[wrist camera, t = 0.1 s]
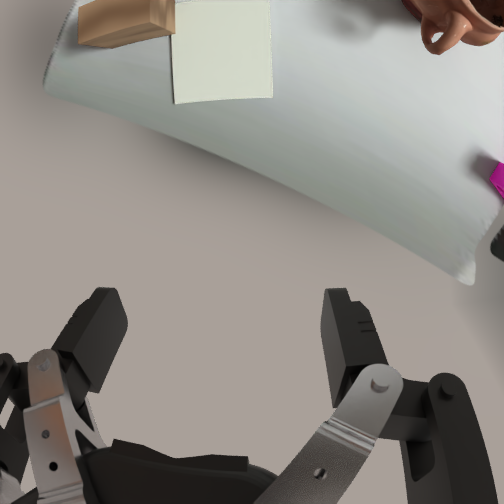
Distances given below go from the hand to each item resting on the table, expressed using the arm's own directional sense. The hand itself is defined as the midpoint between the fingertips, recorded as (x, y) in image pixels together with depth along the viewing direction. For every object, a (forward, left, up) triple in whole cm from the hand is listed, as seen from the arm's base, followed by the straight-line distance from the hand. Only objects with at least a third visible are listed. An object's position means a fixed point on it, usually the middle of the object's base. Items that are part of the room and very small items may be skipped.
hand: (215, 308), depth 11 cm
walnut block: (-19, -13, -29) cm, 37 cm away
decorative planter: (-22, +24, -30) cm, 44 cm away
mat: (-14, -3, -29) cm, 33 cm away
